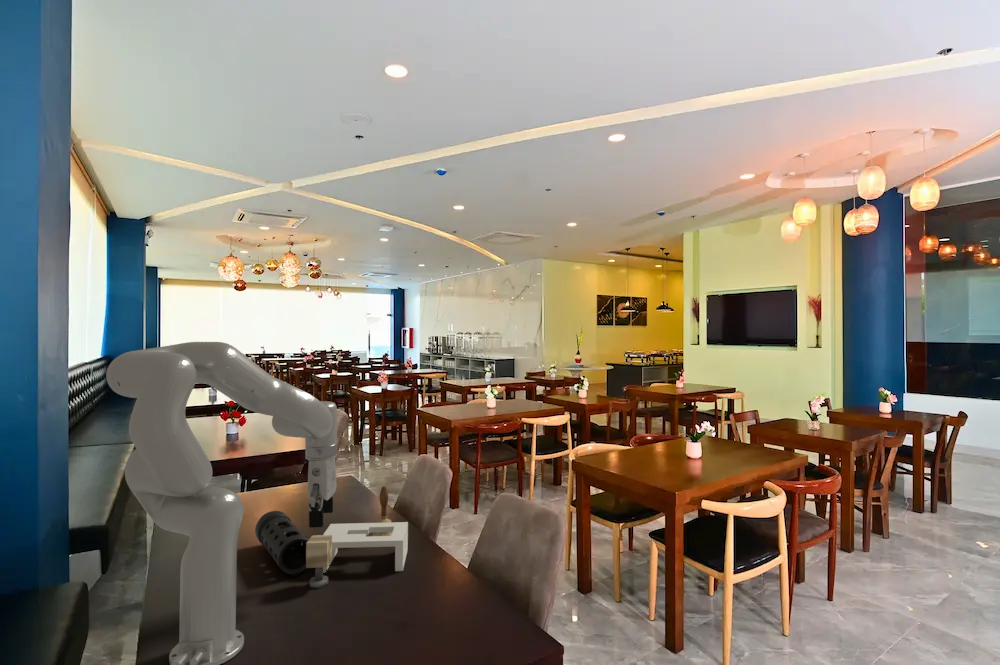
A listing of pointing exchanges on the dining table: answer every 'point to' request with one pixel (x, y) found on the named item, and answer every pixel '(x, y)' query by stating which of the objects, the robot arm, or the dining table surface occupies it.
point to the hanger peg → (318, 558)
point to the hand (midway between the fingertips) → (321, 519)
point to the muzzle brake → (283, 541)
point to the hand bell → (383, 511)
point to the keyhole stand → (370, 538)
